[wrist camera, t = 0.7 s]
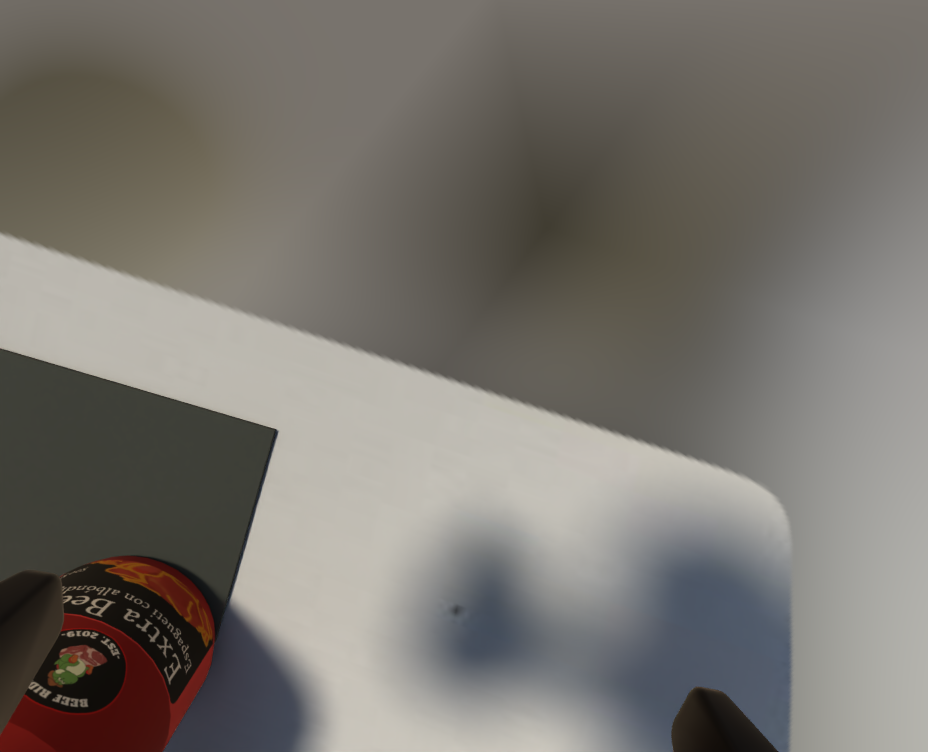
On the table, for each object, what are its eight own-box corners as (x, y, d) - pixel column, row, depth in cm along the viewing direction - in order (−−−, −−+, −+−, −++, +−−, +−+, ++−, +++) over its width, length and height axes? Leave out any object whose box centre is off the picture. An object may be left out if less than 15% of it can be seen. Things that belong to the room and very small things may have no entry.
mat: (216, 641, 26) (214, 643, 26) (-110, 555, 25) (-114, 557, 24) (276, 429, 25) (274, 430, 24) (-61, 330, 24) (-66, 330, 23)
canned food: (254, 604, 25) (110, 850, 14) (165, 741, 26) (-33, 1069, 15) (94, 514, 24) (-188, 705, 14) (8, 660, 25) (-319, 946, 15)
